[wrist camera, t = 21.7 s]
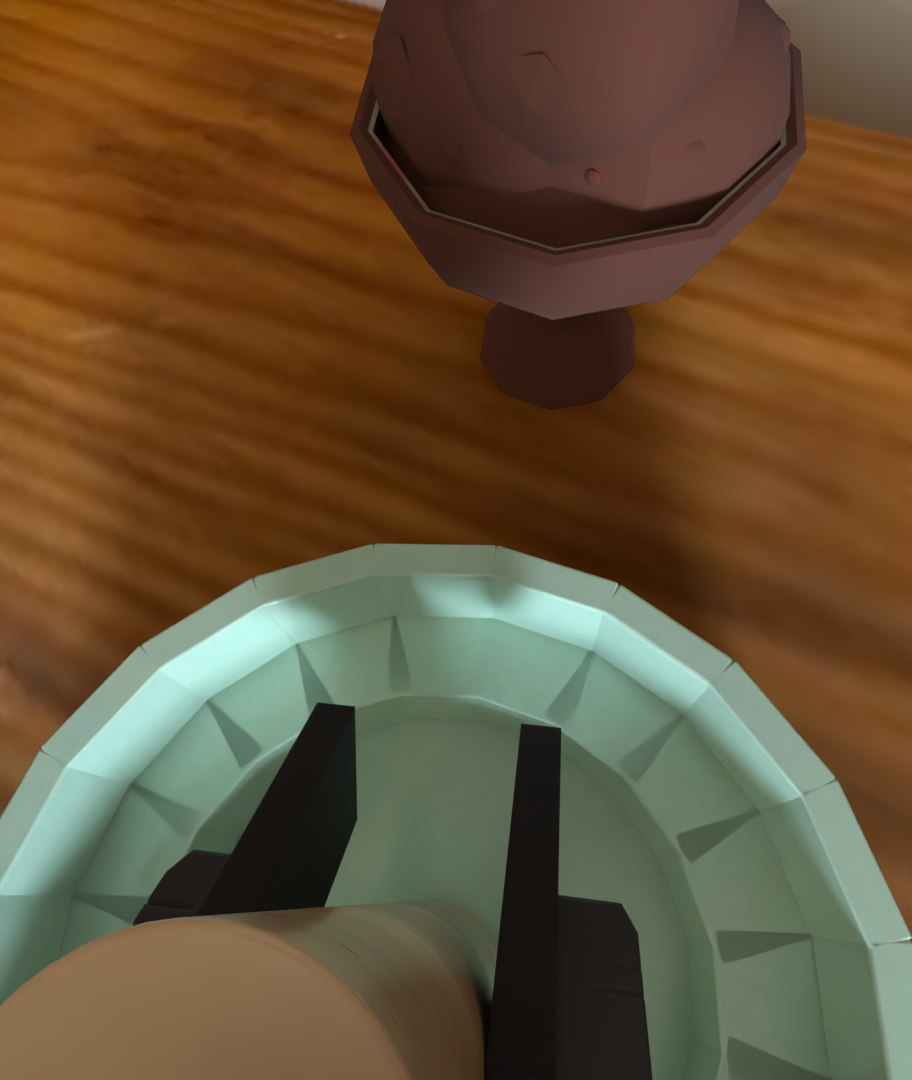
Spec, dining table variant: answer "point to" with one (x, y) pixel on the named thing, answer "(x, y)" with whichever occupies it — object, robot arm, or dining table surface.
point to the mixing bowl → (489, 793)
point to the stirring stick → (264, 999)
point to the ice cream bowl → (576, 160)
